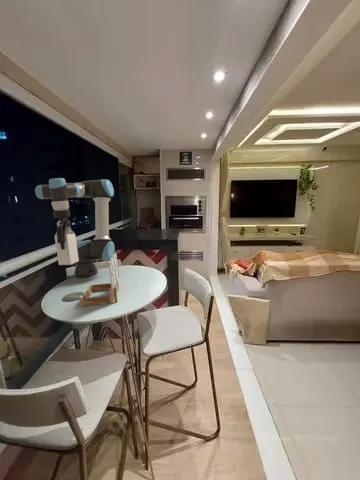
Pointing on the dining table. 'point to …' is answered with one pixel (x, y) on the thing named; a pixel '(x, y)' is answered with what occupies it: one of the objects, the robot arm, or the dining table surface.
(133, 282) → the dining table surface
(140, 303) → the dining table surface
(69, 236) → the milk carton
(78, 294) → the disc
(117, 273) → the cold frame
